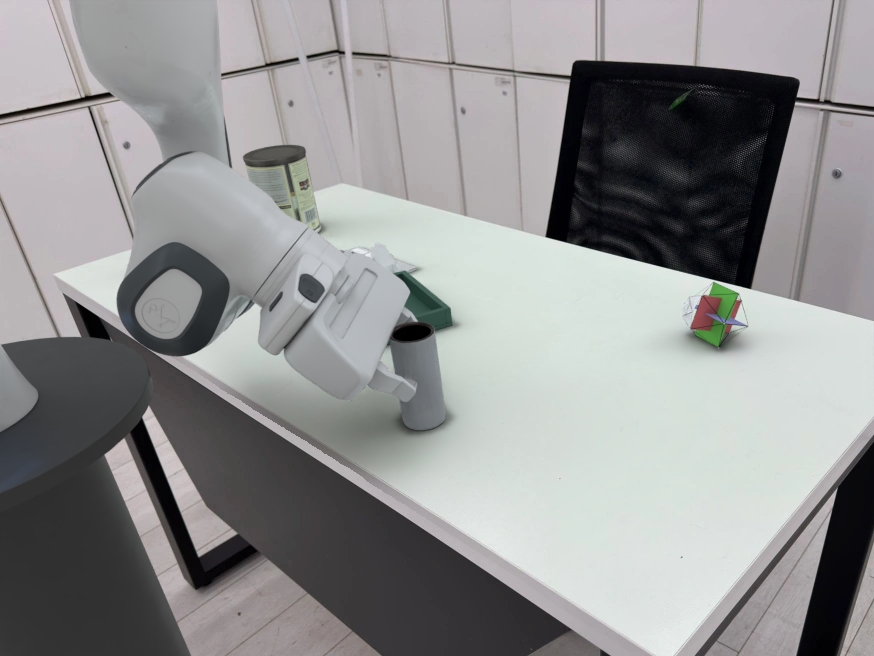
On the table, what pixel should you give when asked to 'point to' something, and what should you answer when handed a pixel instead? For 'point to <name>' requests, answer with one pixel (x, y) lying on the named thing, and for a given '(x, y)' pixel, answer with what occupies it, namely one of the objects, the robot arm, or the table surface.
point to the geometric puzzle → (713, 313)
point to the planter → (419, 374)
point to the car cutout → (384, 258)
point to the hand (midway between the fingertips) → (421, 369)
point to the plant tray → (425, 303)
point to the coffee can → (285, 180)
